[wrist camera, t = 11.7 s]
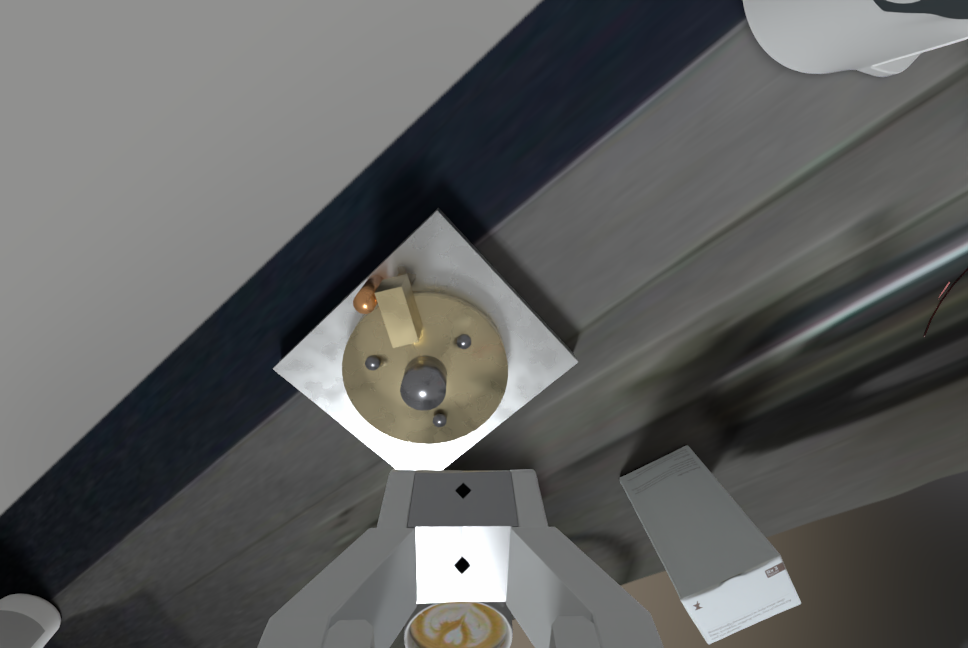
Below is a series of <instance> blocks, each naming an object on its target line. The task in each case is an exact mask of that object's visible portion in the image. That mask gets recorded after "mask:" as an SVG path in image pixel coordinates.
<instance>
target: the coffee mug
mask: <svg viewBox="0 0 968 648" xmlns="http://www.w3.org/2000/svg"><path fill="white" fill-rule="evenodd" d="M512 636H513V630H512V619H511V611H510V610H509V608H508V607H507V605H506V602H469V601H459V602H437V603H417V607H416V609H415V610H414V612H413V613H412V615H411V616H410V618H409V619H408V621H407V622H406V624H405V628H404V644H405V647H406V648H510V646H511V643H512Z"/></svg>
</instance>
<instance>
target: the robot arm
mask: <svg viewBox="0 0 968 648" xmlns="http://www.w3.org/2000/svg"><path fill="white" fill-rule="evenodd" d="M743 5H744V10H745V13H746V17H747V20H748V23H749V26H750V28H751V30H752V32H753V34H754V36H755V38H756V39H757V41H758V43H759V44H760V45H761V47H762V48H763V49H764V50H765V51H766V52H767V53H768V54H769V55H770V56H771V57H772V58H773V59H774V60H776V61H777V62H779V63H780V64H782V65H784V66H786V67H788V68H790V69H793V70H795V71H799V72H803V73H810V74H825V73H832V72H838V71H844V70H858V71H861V72H864V73H867V74H870V75H873V76H877V77H888V76H891V75H894V74H898V73H900V72H902V71H904V70H905V69H906V68H908V67H909V66H910V65H911V63H912V62H913V61H914V60H915V59H916V58H917V57H918V56H919V55H920V54H921V53H922V52H926V51H929V50H933V49H936V48H939V47H943V46H946V45H949V44H953V43H956V42H959V41H963V40H966V39H968V0H743ZM459 601H469V602H506V605H507V607H508V608H509V610H510V611H511V613H512V614H513V616H514V617H515V619H516V620H517V622H518V623H519V625H520V626H521V627H522V629H523V631H524V632H525V634H526V635H527V636H528V638H529V639H530V641H531V642H532V644H533V645H534V647H535V648H664V647H663V644H662V642H661V639H660V637H659V634H658V632H657V629H656V627H655V624H654V622H653V619H652V617H651V614H650V613H649V612H648V611H647V610H646V609H645V608H644V607H643V606H642V605H641V604H640V603H638V602H637V601H636V600H635V599H634V598H633V597H632V596H631V595H630V594H629V593H627V592H626V591H625V590H624V589H623V588H622V587H621V586H620V585H619V584H618V583H616V582H615V581H614V580H613V579H612V578H611V577H610V576H609V575H608V574H607V573H605V572H604V571H603V570H602V569H601V568H600V567H599V566H598V565H597V564H596V563H594V562H593V561H592V560H591V559H590V558H589V557H588V556H587V555H586V554H585V553H583V552H582V551H581V550H580V549H579V548H578V547H577V546H576V545H575V544H574V543H572V542H571V541H570V540H569V539H568V538H567V537H566V536H565V535H564V534H563V533H561V532H560V531H559V530H558V529H557V528H556V527H548V524H547V520H546V516H545V511H544V507H543V502H542V498H541V494H540V489H539V485H538V481H537V476H536V472H535V471H534V470H533V469H519V470H510V471H461V470H391V472H390V474H389V477H388V481H387V486H386V490H385V494H384V499H383V503H382V507H381V512H380V516H379V520H378V525H377V528H369V529H368V530H367V531H366V532H365V533H364V534H362V535H361V536H360V537H359V538H358V539H357V540H356V541H355V542H354V543H353V544H351V545H350V546H349V547H348V548H347V549H346V550H345V551H344V552H343V553H341V554H340V555H339V556H338V557H337V558H336V559H335V560H334V561H333V562H332V563H330V564H329V565H328V566H327V567H326V568H325V569H324V570H323V571H322V572H320V573H319V574H318V575H317V576H316V577H315V578H314V579H313V580H312V581H311V582H309V583H308V584H307V585H306V586H305V587H304V588H303V589H302V590H301V591H299V592H298V593H297V594H296V595H295V596H294V597H293V598H292V599H291V600H290V601H288V602H287V603H286V604H285V605H284V606H283V607H282V608H281V609H280V610H278V611H277V612H276V613H275V614H274V615H273V616H272V617H271V618H270V619H269V621H268V623H267V626H266V628H265V630H264V633H263V635H262V638H261V640H260V642H259V645H258V647H257V648H389V647H390V646H391V644H392V643H393V641H394V640H395V638H396V637H397V635H398V634H399V632H400V631H401V629H402V628H403V627H404V625H405V624H406V622H407V621H408V619H409V618H410V616H411V615H412V613H413V612H414V610H415V609H416V607H417V603H437V602H459Z"/></svg>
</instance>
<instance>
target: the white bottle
mask: <svg viewBox="0 0 968 648" xmlns="http://www.w3.org/2000/svg"><path fill="white" fill-rule="evenodd" d="M60 622H61V617H60V613H59V612H58V610H57V609H56V608H55V607H54V606H53V605H52V604H51V603H49V602H48V601H46V600H44V599H42V598H40V597H38V596H34V595H30V594H19V593H18V594H12V595H8V596H6V597H4V598H2V599H0V648H43V646H44V645H45V644H46V643H47V642H48V641H49V639H50V638H51V637H52V636H53V635H54V633H55V632H56V631H57V630H58V629H59V626H60Z"/></svg>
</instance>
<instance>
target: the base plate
mask: <svg viewBox="0 0 968 648" xmlns="http://www.w3.org/2000/svg"><path fill="white" fill-rule="evenodd" d="M405 274H407V275H408V278H409V281H410V285H411V288H412V291H421V290H429V291H439V292H444V293H448V294H451V295H454V296H457V297H460V298H462V299H464V300H466V301H468V302H469V303H471V304H472V305H474V306H475V307H477V308H478V309H479V310H480V311H482V312H483V313H484V314H485V315H486V316H487V317H488V318H489V319H490V321H491V322H492V323H493V324H494V326H495V327H496V329H497V330H498V332H499V335H500V337H501V339H502V341H503V345H504V348H505V352H506V357H507V363H508V380H507V386H506V390H505V394H504V396H503V398H502V401H501V403H500V404H499V406H498V408H497V409H496V411H495V412H494V413H493V415H492V416H491V417H490V418H489V419H488V420H487V421H486V422H485V423H484V424H483V425H482V426H480V427H479V428H478V429H476V430H475V431H473V432H471V433H469V434H468V435H466V436H463V437H461V438H459V439H456V440H452V441H449V442H444V443H438V444H416V443H410V442H405V441H401V440H398V439H395V438H393V437H390V436H388V435H386V434H384V433H382V432H380V431H379V430H377V429H376V428H374V427H373V426H371V425H370V424H369V423H368V422H367V421H366V420H365V419H363V418H362V416H361V415H360V414H359V413H358V412H357V411H356V409H355V408H354V406H353V405H352V403H351V401H350V399H349V397H348V395H347V393H346V390H345V386H344V383H343V377H342V360H343V354H344V350H345V347H346V344H347V342H348V340H349V337H350V335H351V334H352V332H353V330H354V329H355V327H356V326H357V324H358V323H359V321H360V320H361V319H362V318H363V316H364V315H365V314H369V313H371V312H372V311H373V310H374V308H375V307H376V305H377V304H378V302H377V299H376V296H375V294H374V293H375V291H376V290H377V288H378V286H379V285H380V283H381V281H382V280H384V279H388V278H392V277H396V276H400V275H405ZM576 363H578V360H577V358H576V357H575V355H574V353H573V352H572V351H571V350H570V348H569V347H568V346H567V345H566V344H565V343H564V342H563V341H562V340H561V339H560V338H559V337H558V336H557V334H556V333H555V332H554V331H553V330H552V329H551V328H550V327H549V326H548V325H547V324H546V323H545V322H544V320H543V319H542V318H541V317H540V316H539V315H538V314H537V313H536V312H535V311H534V310H533V309H532V308H531V306H530V305H529V304H528V303H527V302H526V301H525V300H524V299H523V298H522V297H521V296H520V295H519V294H518V292H517V291H516V290H515V289H514V288H513V287H512V286H511V285H510V284H509V283H508V282H507V281H506V280H505V278H504V277H503V276H502V275H501V274H500V273H499V272H498V271H497V270H496V269H495V268H494V267H493V266H492V264H491V263H490V262H489V261H488V260H487V259H486V258H485V257H484V256H483V255H482V254H481V253H480V252H479V250H478V249H477V248H476V247H475V246H474V245H473V244H472V243H471V242H470V241H469V240H468V239H467V238H466V236H465V235H464V234H463V233H462V232H461V231H460V230H459V229H458V228H457V227H456V226H455V225H454V224H453V222H452V221H451V220H450V219H449V218H448V217H447V216H446V215H445V214H444V213H443V212H442V211H441V210H440V209H439V207H438V208H437V209H436V210H435V211H434V212H433V213H432V214H431V215H430V216H429V217H428V218H427V219H426V220H425V221H424V222H423V223H422V224H421V225H420V226H419V227H418V228H417V229H416V230H414V231H413V232H412V233H411V234H410V235H409V236H408V237H407V238H406V239H405V240H404V241H403V242H402V243H401V244H400V245H399V246H398V247H397V248H396V249H395V250H394V251H393V252H392V253H391V254H390V255H389V256H388V257H386V258H385V259H384V260H383V261H382V262H381V263H380V264H379V265H378V266H377V267H376V268H375V269H374V270H373V271H372V272H371V273H370V274H369V275H368V276H367V277H366V278H365V279H364V280H363V281H362V282H361V283H360V284H358V285H357V286H356V287H355V288H354V289H353V290H352V291H351V292H350V293H349V294H348V295H347V296H346V297H345V298H344V299H343V300H342V301H341V302H340V303H339V304H338V305H337V306H336V307H335V308H334V309H333V310H332V311H330V312H329V313H328V314H327V315H326V316H325V317H324V318H323V319H322V320H321V321H320V322H319V323H318V324H317V325H316V326H315V327H314V328H313V329H312V330H311V331H310V332H309V333H308V334H307V335H306V336H305V337H304V338H302V339H301V340H300V341H299V342H298V343H297V344H296V345H295V346H294V347H293V348H292V349H291V350H290V351H289V352H288V353H287V354H286V355H285V356H284V357H283V358H282V359H281V360H280V361H279V362H278V363H277V364H276V366H275V367H274V368H273V369H274V370H275V371H276V372H277V373H278V374H280V375H281V376H282V377H283V378H285V379H286V380H287V381H288V382H290V383H291V384H292V385H293V386H294V387H296V388H297V389H298V390H299V391H301V392H302V393H303V394H304V395H306V396H307V397H308V398H309V399H311V400H312V401H313V402H314V403H315V404H317V405H318V406H319V407H320V408H322V409H323V410H324V411H325V412H327V413H328V414H329V415H330V416H331V417H333V418H334V419H335V420H336V421H338V422H339V423H340V424H341V425H343V426H344V427H345V428H346V429H348V430H349V431H350V432H351V433H352V434H354V435H355V436H356V437H357V438H359V439H360V440H361V441H362V442H364V443H365V444H366V445H367V446H368V447H370V448H371V449H372V450H373V451H375V452H376V453H377V454H378V455H380V456H381V457H382V458H383V459H385V460H386V461H387V462H388V463H389V464H391V465H392V466H393V467H394V468H396V469H397V470H443V469H444V468H445V467H447V466H448V465H449V464H451V463H452V462H453V461H454V460H456V459H457V458H458V457H459V456H461V455H462V454H463V453H464V452H466V451H467V450H468V449H469V448H471V447H472V446H473V445H474V444H476V443H477V442H478V441H479V440H481V439H482V438H483V437H484V436H486V435H487V434H488V433H490V432H491V431H492V430H493V429H495V428H496V427H497V426H498V425H500V424H501V423H502V422H503V421H505V420H506V419H507V418H508V417H510V416H511V415H512V414H513V413H515V412H516V411H517V410H518V409H520V408H521V407H522V406H523V405H525V404H526V403H527V402H529V401H530V400H531V399H532V398H534V397H535V396H536V395H537V394H539V393H540V392H541V391H542V390H544V389H545V388H546V387H547V386H549V385H550V384H551V383H552V382H554V381H555V380H556V379H557V378H559V377H560V376H561V375H563V374H564V373H565V372H566V371H568V370H569V369H570V368H571V367H573V366H574V365H575V364H576Z"/></svg>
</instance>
